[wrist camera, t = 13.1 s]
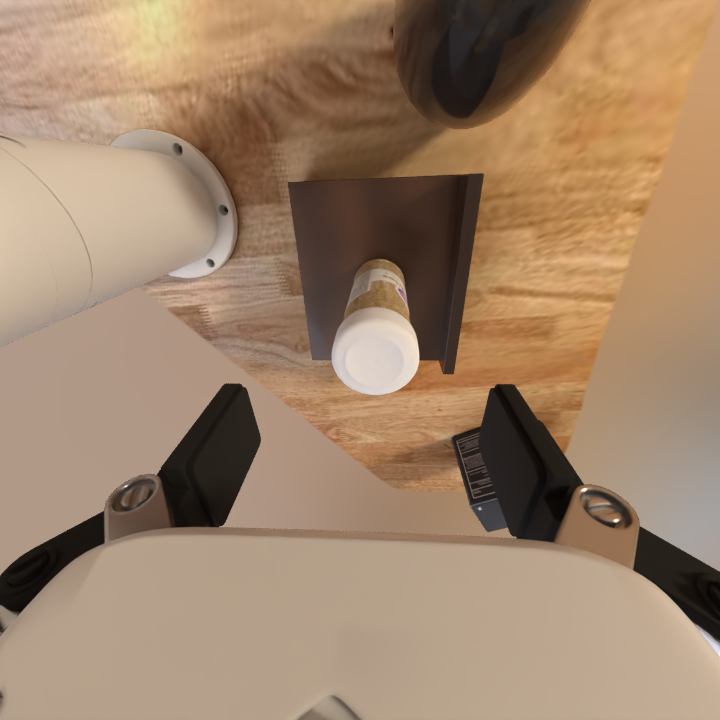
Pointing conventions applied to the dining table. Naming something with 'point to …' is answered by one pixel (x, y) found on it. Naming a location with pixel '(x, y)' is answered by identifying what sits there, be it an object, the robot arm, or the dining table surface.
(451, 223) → the shelf
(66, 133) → the dining table surface
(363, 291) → the sprinkles bottle
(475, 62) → the pump dispenser
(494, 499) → the small box
